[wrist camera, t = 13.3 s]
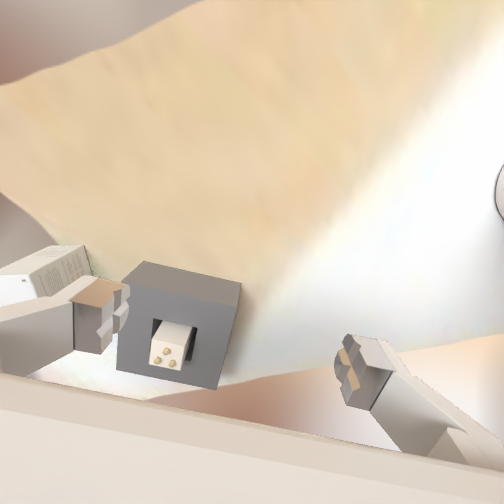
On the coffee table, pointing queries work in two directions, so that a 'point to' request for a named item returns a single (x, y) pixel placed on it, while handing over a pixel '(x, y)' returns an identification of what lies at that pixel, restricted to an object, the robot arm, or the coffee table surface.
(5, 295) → the small box
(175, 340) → the plug peg
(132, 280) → the socket block
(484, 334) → the coffee table surface
